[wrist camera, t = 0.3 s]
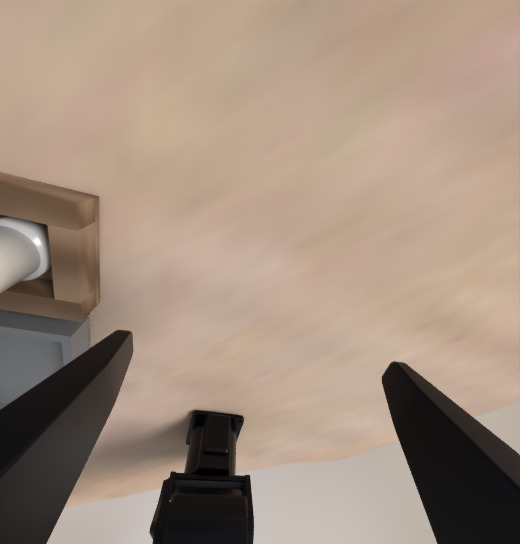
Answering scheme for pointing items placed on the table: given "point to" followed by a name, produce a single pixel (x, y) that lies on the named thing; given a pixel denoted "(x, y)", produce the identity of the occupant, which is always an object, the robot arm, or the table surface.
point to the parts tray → (35, 349)
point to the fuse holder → (56, 249)
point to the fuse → (22, 251)
